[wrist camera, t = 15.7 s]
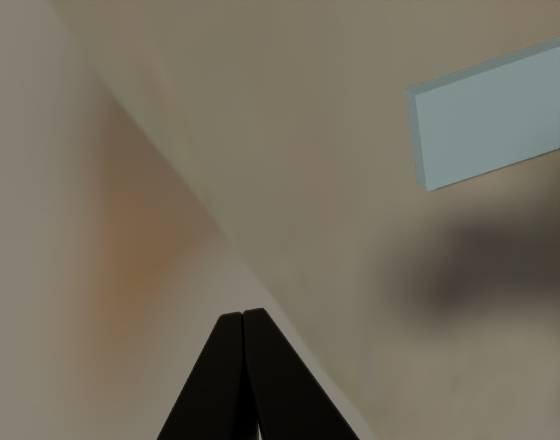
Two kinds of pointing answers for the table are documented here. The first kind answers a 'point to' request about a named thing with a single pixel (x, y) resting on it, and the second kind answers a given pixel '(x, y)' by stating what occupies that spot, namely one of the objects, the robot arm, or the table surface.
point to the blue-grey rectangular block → (486, 115)
